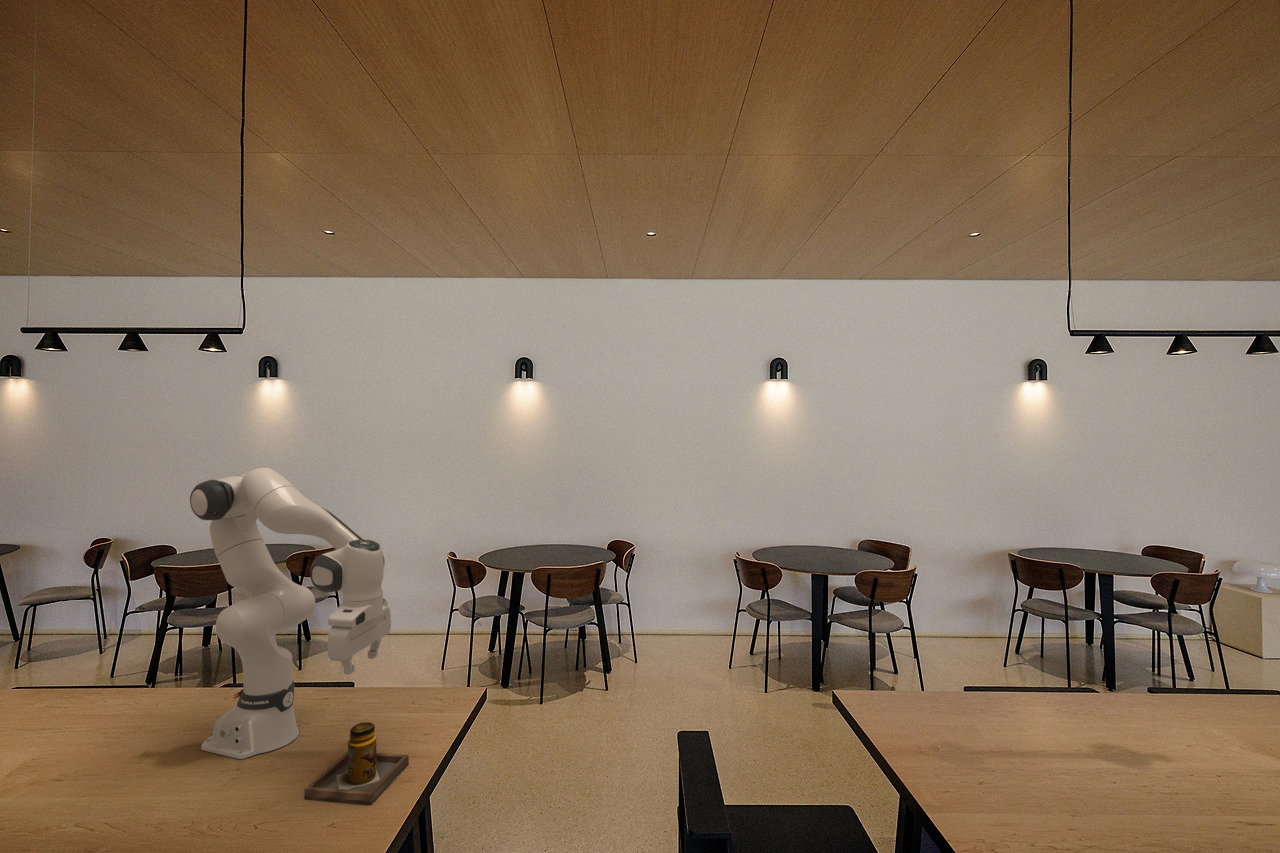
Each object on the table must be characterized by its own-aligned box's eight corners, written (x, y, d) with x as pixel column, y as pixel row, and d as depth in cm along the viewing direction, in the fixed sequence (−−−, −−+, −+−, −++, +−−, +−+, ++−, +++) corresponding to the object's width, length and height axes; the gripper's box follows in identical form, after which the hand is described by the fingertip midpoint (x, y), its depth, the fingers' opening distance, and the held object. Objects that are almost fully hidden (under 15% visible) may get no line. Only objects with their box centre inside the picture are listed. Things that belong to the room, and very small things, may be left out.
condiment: (380, 780, 138) (380, 729, 138) (339, 792, 134) (339, 739, 134) (375, 765, 144) (375, 716, 144) (336, 776, 140) (336, 725, 140)
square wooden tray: (304, 799, 132) (304, 789, 132) (348, 759, 148) (348, 750, 148) (371, 805, 130) (371, 794, 130) (408, 764, 146) (408, 755, 146)
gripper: (375, 595, 154) (374, 648, 154) (323, 620, 134) (321, 681, 134) (398, 596, 153) (396, 650, 153) (348, 622, 133) (347, 684, 133)
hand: (361, 665), depth 143 cm, fingers open, 8 cm apart
